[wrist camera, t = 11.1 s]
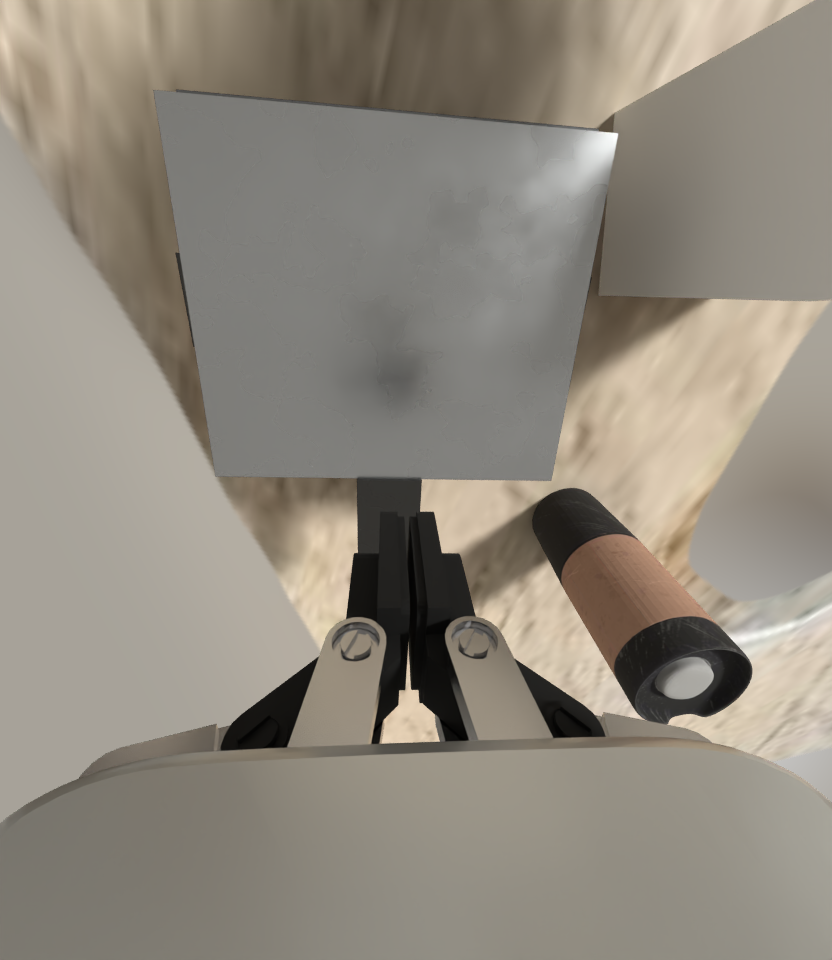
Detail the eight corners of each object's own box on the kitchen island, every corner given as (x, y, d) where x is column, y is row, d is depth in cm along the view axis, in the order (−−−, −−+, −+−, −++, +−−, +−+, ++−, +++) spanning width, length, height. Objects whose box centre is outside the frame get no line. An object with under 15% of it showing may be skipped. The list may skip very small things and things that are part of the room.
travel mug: (563, 472, 40) (704, 629, 23) (615, 506, 43) (780, 672, 25) (514, 527, 43) (607, 706, 25) (566, 556, 45) (684, 738, 28)
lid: (605, 142, 20) (621, 130, 19) (528, 560, 30) (535, 572, 29) (167, 103, 18) (149, 86, 17) (236, 561, 28) (229, 575, 27)
